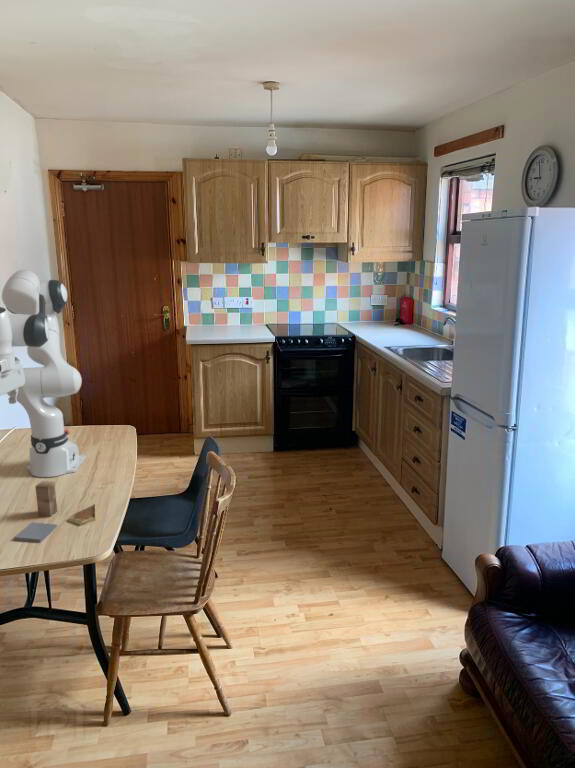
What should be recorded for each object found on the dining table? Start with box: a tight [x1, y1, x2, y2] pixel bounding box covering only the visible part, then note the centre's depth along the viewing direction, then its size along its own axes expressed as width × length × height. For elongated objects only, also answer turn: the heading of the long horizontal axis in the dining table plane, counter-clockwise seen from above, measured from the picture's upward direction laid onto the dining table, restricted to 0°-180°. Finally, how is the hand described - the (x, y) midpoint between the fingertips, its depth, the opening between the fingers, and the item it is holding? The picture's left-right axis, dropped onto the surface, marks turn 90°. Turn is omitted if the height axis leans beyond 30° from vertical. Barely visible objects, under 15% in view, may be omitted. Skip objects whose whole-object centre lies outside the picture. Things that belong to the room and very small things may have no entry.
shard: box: [67, 503, 96, 526], centre depth 181 cm, size 11×8×2 cm
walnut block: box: [35, 480, 58, 518], centre depth 181 cm, size 4×4×10 cm
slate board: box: [13, 521, 58, 543], centre depth 170 cm, size 2×8×9 cm
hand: (4, 407), depth 177 cm, fingers open, 8 cm apart
